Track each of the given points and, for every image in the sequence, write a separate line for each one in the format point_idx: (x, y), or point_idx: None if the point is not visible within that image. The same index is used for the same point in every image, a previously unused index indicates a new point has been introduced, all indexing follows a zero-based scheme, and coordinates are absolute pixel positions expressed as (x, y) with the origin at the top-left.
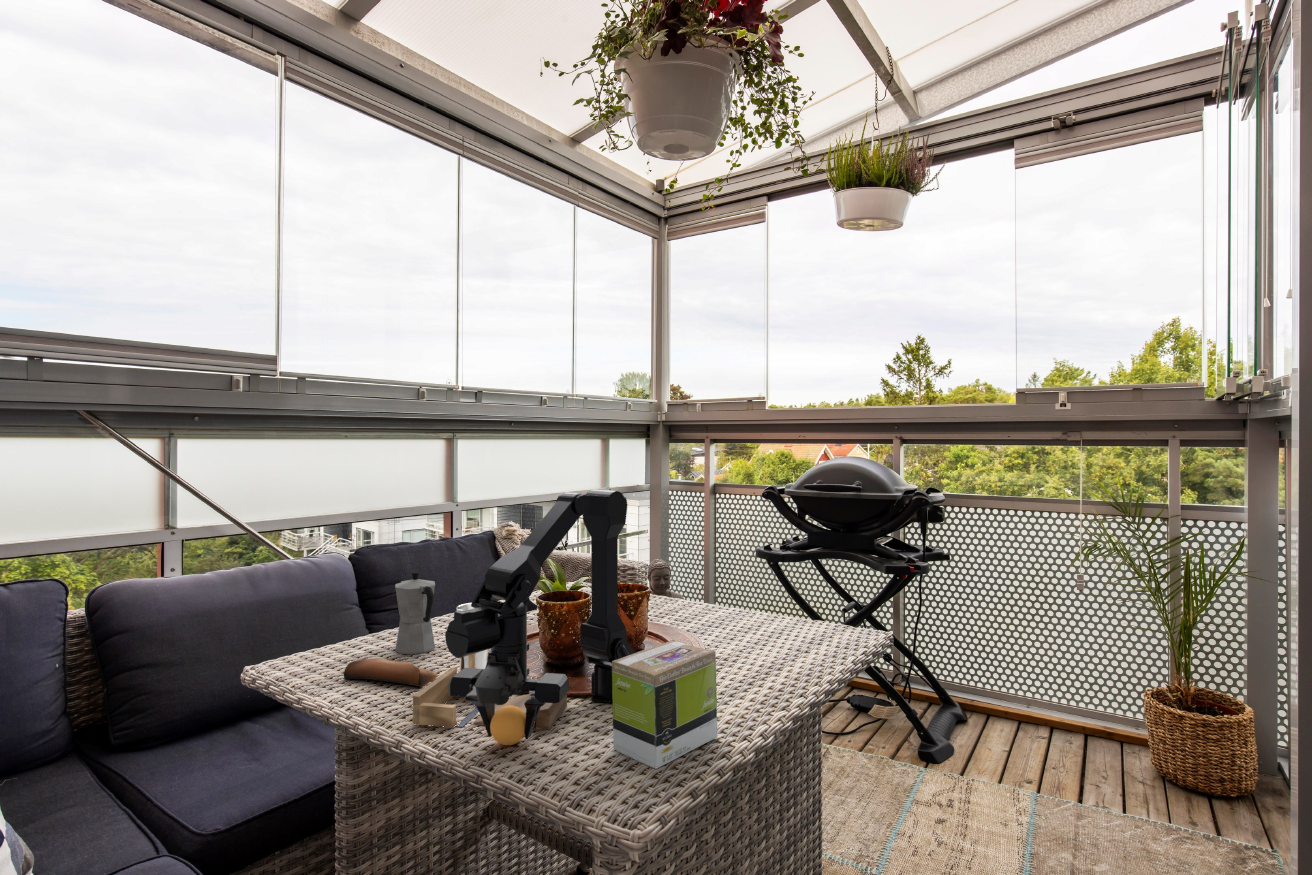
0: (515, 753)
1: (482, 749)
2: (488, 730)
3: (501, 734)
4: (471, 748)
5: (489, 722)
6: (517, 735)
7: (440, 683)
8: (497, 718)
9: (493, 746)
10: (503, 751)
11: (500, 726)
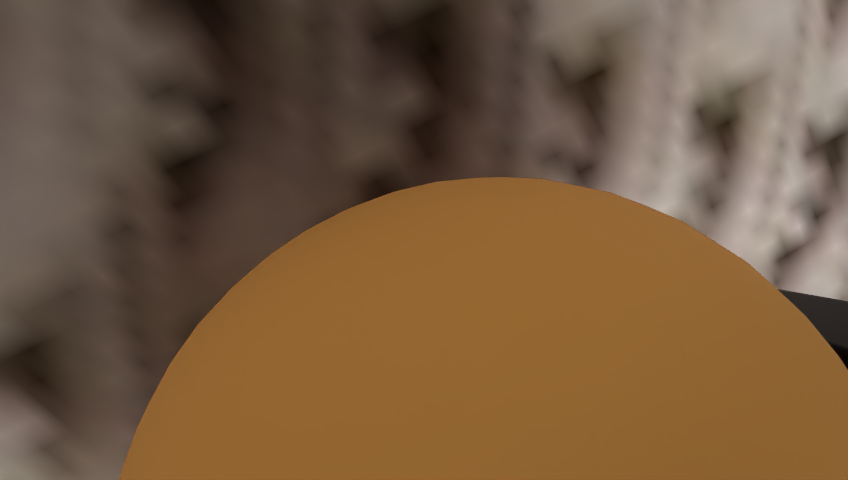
0: (67, 159)
1: (611, 56)
2: None
3: (449, 202)
4: (742, 22)
5: None
6: (151, 410)
7: None
8: (809, 433)
9: None
10: (306, 131)
11: (581, 289)
